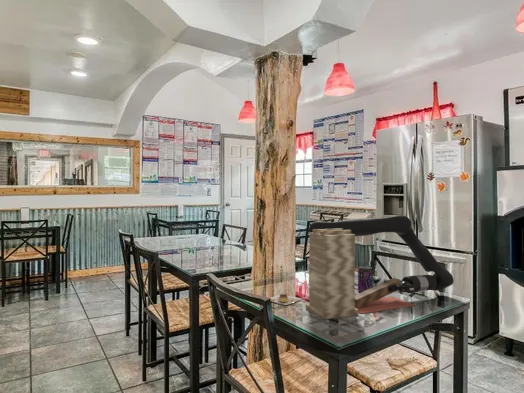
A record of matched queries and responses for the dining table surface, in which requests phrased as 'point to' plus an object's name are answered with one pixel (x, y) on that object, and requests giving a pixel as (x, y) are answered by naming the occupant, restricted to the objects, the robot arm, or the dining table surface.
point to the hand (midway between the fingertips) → (385, 287)
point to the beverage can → (365, 278)
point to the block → (375, 293)
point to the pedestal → (332, 273)
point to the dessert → (284, 298)
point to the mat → (384, 305)
